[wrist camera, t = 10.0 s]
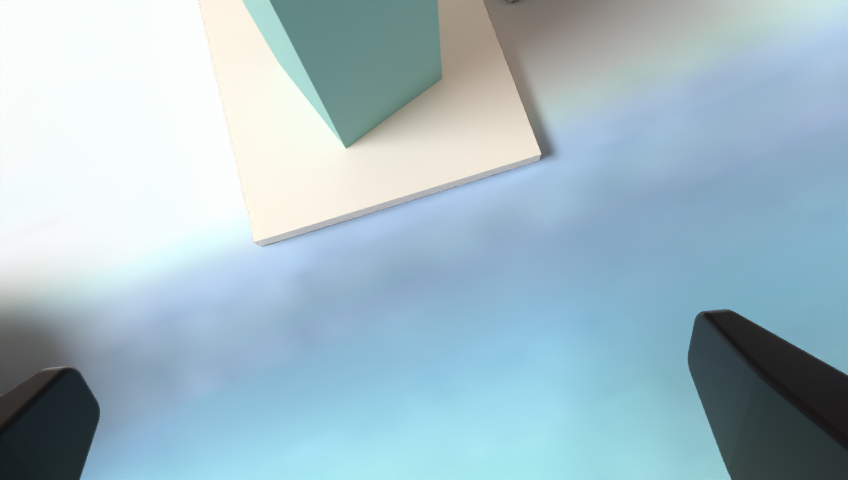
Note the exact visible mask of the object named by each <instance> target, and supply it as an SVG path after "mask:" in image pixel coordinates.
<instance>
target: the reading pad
mask: <svg viewBox="0 0 848 480" xmlns="http://www.w3.org/2000/svg"><path fill="white" fill-rule="evenodd" d="M198 2H199V6H200V10H201V15H202V19H203V23H204V28H205V32H206V36H207V41H208V45H209V49H210V54H211V58H212V62H213V67H214V71H215V75H216V80H217V84H218V88H219V93H220V97H221V101H222V106H223V110H224V114H225V119H226V123H227V127H228V132H229V136H230V140H231V145H232V149H233V153H234V158H235V162H236V166H237V170H238V175H239V179H240V183H241V188H242V192H243V196H244V201H245V205H246V209H247V214H248V218H249V222H250V227H251V231H252V235H253V240H254V243H256V244H258V245H259V246H265V245H268V244H271V243H274V242H278V241H281V240H284V239H287V238H291V237H294V236H297V235H300V234H304V233H307V232H310V231H314V230H317V229H320V228H323V227H327V226H330V225H333V224H336V223H340V222H343V221H346V220H349V219H353V218H356V217H359V216H362V215H366V214H369V213H372V212H375V211H379V210H382V209H385V208H388V207H391V206H395V205H398V204H401V203H404V202H408V201H411V200H414V199H417V198H420V197H424V196H427V195H430V194H433V193H437V192H440V191H443V190H446V189H449V188H453V187H456V186H459V185H462V184H466V183H469V182H472V181H475V180H478V179H482V178H485V177H488V176H491V175H495V174H498V173H501V172H504V171H508V170H511V169H514V168H517V167H520V166H524V165H527V164H530V163H533V162H537V161H539V159H540V156H541V152H540V149H539V146H538V144H537V141H536V139H535V136H534V133H533V131H532V128H531V125H530V123H529V120H528V117H527V115H526V112H525V109H524V107H523V104H522V102H521V99H520V96H519V94H518V91H517V88H516V86H515V83H514V80H513V78H512V75H511V72H510V70H509V67H508V65H507V62H506V59H505V57H504V54H503V51H502V49H501V46H500V43H499V41H498V38H497V35H496V33H495V30H494V28H493V25H492V22H491V20H490V17H489V14H488V12H487V9H486V6H485V4H484V1H483V0H438V16H439V33H440V50H441V67H442V79H441V80H440V81H438V82H437V83H436V84H434V85H433V86H431V87H430V88H429V89H427V90H426V91H425V92H423V93H422V94H420V95H419V96H418V97H416V98H415V99H413V100H412V101H411V102H409V103H408V104H407V105H405V106H404V107H402V108H401V109H400V110H398V111H397V112H396V113H394V114H393V115H391V116H390V117H389V118H387V119H386V120H385V121H383V122H382V123H380V124H379V125H378V126H376V127H375V128H374V129H372V130H371V131H369V132H368V133H367V134H365V135H364V136H363V137H361V138H360V139H358V140H357V141H356V142H354V143H353V144H352V145H350V146H349V147H347V148H345V147H344V146H343V144H342V143H341V142H340V141H339V139H338V138H337V137H336V135H335V134H334V133H333V132H332V130H331V129H330V128H329V127H328V125H327V124H326V123H325V121H324V120H323V119H322V118H321V116H320V115H319V114H318V113H317V111H316V110H315V109H314V107H313V106H312V105H311V104H310V102H309V101H308V100H307V99H306V97H305V96H304V95H303V93H302V92H301V91H300V90H299V88H298V87H297V86H296V85H295V83H294V82H293V81H292V79H291V78H290V77H289V76H288V74H287V73H286V72H285V71H284V69H283V68H282V67H281V65H280V64H279V63H278V61H277V59H276V58H275V56H274V54H273V52H272V51H271V49H270V47H269V46H268V44H267V42H266V41H265V39H264V37H263V35H262V34H261V32H260V30H259V29H258V27H257V25H256V24H255V22H254V20H253V19H252V17H251V15H250V13H249V12H248V10H247V8H246V7H245V5H244V3H243V2H242V0H198Z"/></svg>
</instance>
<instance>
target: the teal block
mask: <svg viewBox="0 0 848 480" xmlns="http://www.w3.org/2000/svg"><path fill="white" fill-rule="evenodd" d="M242 2H243V3H244V5H245V7H246V8H247V10H248V12H249V13H250V15H251V17H252V19H253V20H254V22H255V24H256V25H257V27H258V29H259V30H260V32H261V34H262V35H263V37H264V39H265V41H266V42H267V44H268V46H269V47H270V49H271V51H272V52H273V54H274V56H275V58H276V59H277V61H278V63H279V64H280V65H281V67H282V68H283V69H284V71H285V72H286V73H287V74H288V76H289V77H290V78H291V79H292V81H293V82H294V83H295V85H296V86H297V87H298V88H299V90H300V91H301V92H302V93H303V95H304V96H305V97H306V99H307V100H308V101H309V102H310V104H311V105H312V106H313V107H314V109H315V110H316V111H317V113H318V114H319V115H320V116H321V118H322V119H323V120H324V121H325V123H326V124H327V125H328V127H329V128H330V129H331V130H332V132H333V133H334V134H335V135H336V137H337V138H338V139H339V141H340V142H341V143H342V144H343V146H344V147H345V148H347V147H349V146H350V145H352V144H353V143H354V142H356V141H357V140H358V139H360V138H361V137H363V136H364V135H365V134H367V133H368V132H369V131H371V130H372V129H374V128H375V127H376V126H378V125H379V124H380V123H382V122H383V121H385V120H386V119H387V118H389V117H390V116H391V115H393V114H394V113H396V112H397V111H398V110H400V109H401V108H402V107H404V106H405V105H407V104H408V103H409V102H411V101H412V100H413V99H415V98H416V97H418V96H419V95H420V94H422V93H423V92H425V91H426V90H427V89H429V88H430V87H431V86H433V85H434V84H436V83H437V82H438V81H440V80H441V79H442V67H441V50H440V33H439V16H438V0H242Z"/></svg>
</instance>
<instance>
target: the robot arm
mask: <svg viewBox="0 0 848 480" xmlns="http://www.w3.org/2000/svg"><path fill="white" fill-rule="evenodd" d="M688 365H689V370H690V373H691V376H692V378H693V381H694V384H695V386H696V389H697V392H698V394H699V397H700V400H701V402H702V405H703V408H704V410H705V413H706V416H707V418H708V421H709V424H710V427H711V429H712V432H713V435H714V437H715V440H716V443H717V445H718V448H719V451H720V453H721V456H722V458H723V461H724V463H725V466H726V468H727V471H728V473H729V475H730V477H731V479H732V480H848V375H846V374H844V373H843V372H841V371H839V370H837V369H835V368H834V367H832V366H830V365H828V364H827V363H825V362H823V361H821V360H819V359H818V358H816V357H814V356H812V355H811V354H809V353H807V352H805V351H803V350H802V349H800V348H798V347H796V346H795V345H793V344H791V343H789V342H787V341H786V340H784V339H782V338H780V337H778V336H777V335H775V334H773V333H771V332H770V331H768V330H766V329H764V328H762V327H761V326H759V325H757V324H755V323H754V322H752V321H750V320H748V319H746V318H745V317H743V316H741V315H739V314H737V313H736V312H734V311H731V310H726V309H723V310H711V311H703V312H700V313H699V314H698V315H697V316H696V318H695V322H694V327H693V332H692V336H691V341H690V346H689V351H688ZM99 417H100V408H99V404H98V402H97V400H96V398H95V397H94V395H93V393H92V392H91V390H90V388H89V387H88V385H87V383H86V382H85V380H84V378H83V376H82V375H81V373H80V372H79V371H78V370H77V369H76V368H74V367H70V366H64V367H52V368H46V369H42V370H40V371H38V372H37V373H35V374H34V375H32V376H31V377H29V378H28V379H26V380H24V381H23V382H21V383H20V384H18V385H17V386H15V387H14V388H12V389H11V390H9V391H7V392H6V393H4V394H3V395H1V396H0V480H80V478H81V475H82V471H83V468H84V465H85V462H86V459H87V456H88V453H89V450H90V447H91V444H92V441H93V437H94V434H95V431H96V428H97V425H98V422H99Z"/></svg>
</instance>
